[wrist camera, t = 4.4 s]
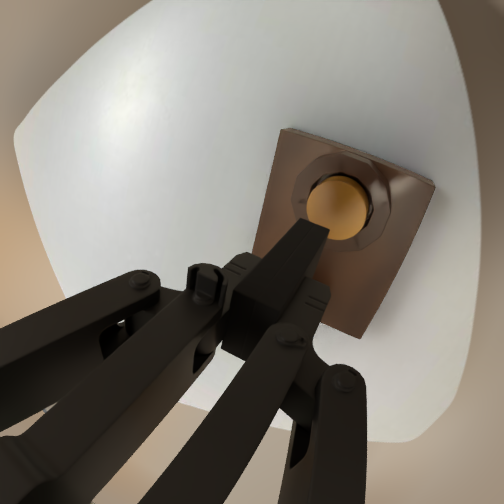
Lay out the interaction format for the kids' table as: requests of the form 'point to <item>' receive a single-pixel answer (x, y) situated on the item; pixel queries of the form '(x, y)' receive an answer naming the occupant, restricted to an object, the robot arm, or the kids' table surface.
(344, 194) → the lamp switch
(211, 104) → the kids' table surface
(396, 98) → the kids' table surface
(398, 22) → the kids' table surface
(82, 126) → the kids' table surface
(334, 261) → the lamp base
